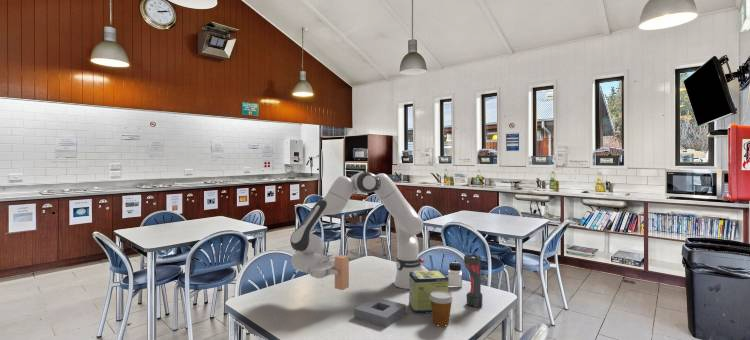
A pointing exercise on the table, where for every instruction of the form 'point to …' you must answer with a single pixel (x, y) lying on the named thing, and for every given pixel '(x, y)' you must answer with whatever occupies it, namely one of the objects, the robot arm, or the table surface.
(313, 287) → the table surface
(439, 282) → the protein box
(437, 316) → the disposable coffee cup
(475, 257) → the flashlight
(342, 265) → the plug block
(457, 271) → the medicine bottle
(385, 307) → the socket block
